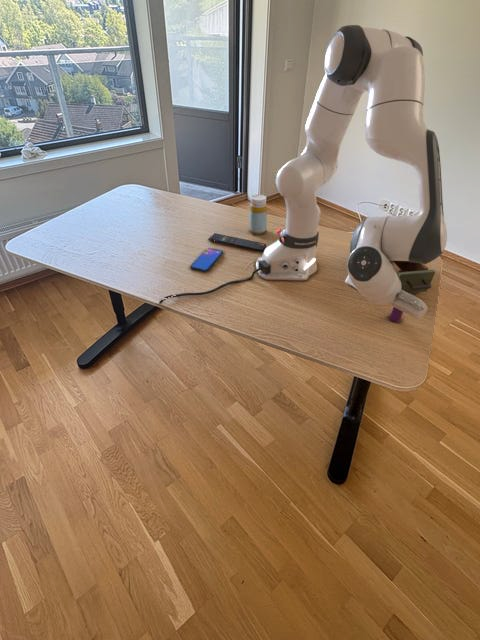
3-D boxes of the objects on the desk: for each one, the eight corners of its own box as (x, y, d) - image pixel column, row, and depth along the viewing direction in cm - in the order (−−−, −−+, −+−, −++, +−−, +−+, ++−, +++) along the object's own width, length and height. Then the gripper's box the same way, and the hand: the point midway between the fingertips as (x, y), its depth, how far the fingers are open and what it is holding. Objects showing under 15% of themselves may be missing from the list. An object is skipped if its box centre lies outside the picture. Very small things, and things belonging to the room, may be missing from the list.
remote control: (214, 236, 147) (214, 233, 146) (267, 247, 139) (267, 244, 138) (208, 241, 143) (208, 238, 142) (262, 253, 136) (262, 250, 135)
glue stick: (392, 322, 104) (400, 301, 98) (387, 315, 106) (395, 295, 101) (402, 321, 104) (410, 300, 99) (397, 315, 106) (405, 294, 101)
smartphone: (189, 266, 127) (207, 247, 137) (189, 268, 128) (207, 249, 138) (206, 270, 125) (223, 250, 135) (207, 272, 126) (224, 252, 136)
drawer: (434, 299, 110) (443, 279, 105) (399, 302, 109) (406, 282, 104) (407, 269, 124) (414, 250, 118) (376, 272, 123) (381, 252, 117)
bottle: (264, 235, 146) (266, 201, 137) (248, 234, 148) (248, 200, 138) (267, 228, 152) (268, 194, 142) (251, 227, 153) (251, 193, 143)
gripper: (429, 294, 77) (435, 309, 88) (353, 258, 89) (366, 276, 100) (413, 317, 78) (420, 330, 89) (339, 279, 90) (354, 294, 101)
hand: (391, 301), depth 95 cm, fingers open, 8 cm apart
